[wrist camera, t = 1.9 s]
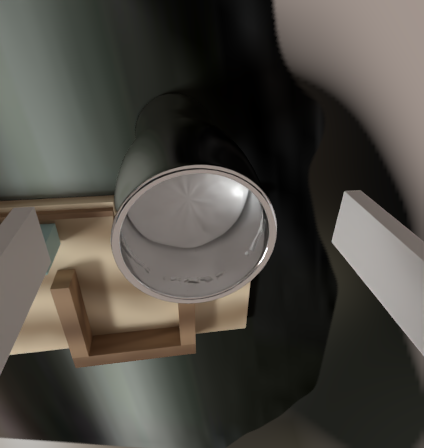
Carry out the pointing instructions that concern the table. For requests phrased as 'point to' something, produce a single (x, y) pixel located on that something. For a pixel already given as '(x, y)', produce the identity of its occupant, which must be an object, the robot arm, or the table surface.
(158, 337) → the board
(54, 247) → the block
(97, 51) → the table surface
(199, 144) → the beer glass
